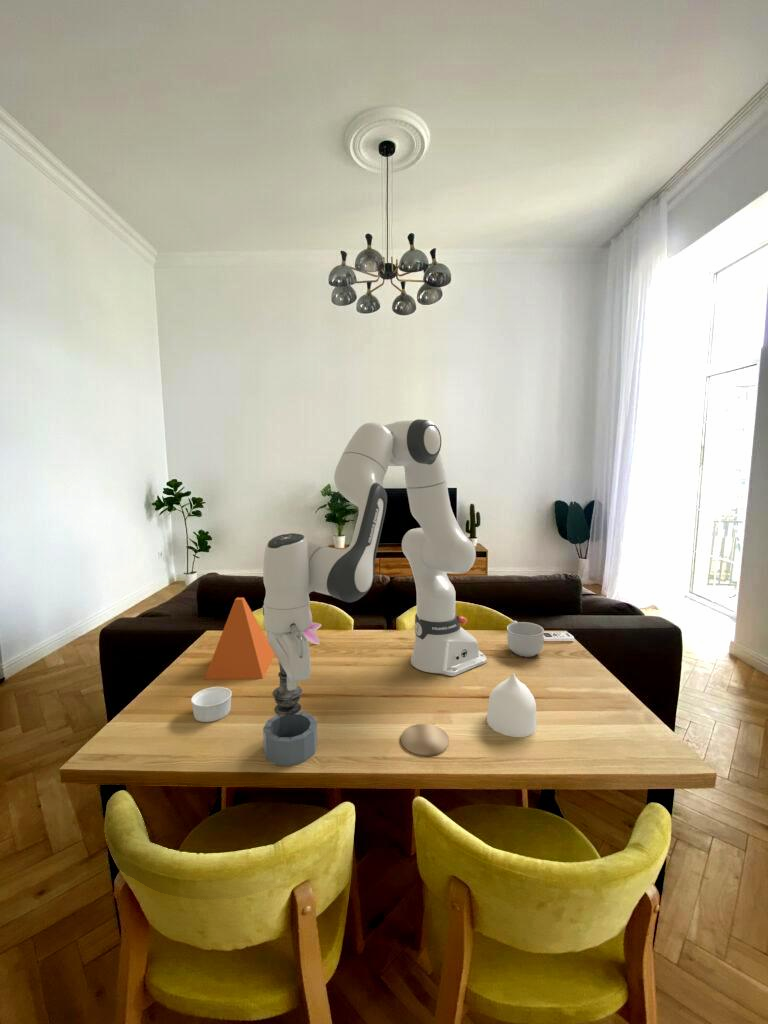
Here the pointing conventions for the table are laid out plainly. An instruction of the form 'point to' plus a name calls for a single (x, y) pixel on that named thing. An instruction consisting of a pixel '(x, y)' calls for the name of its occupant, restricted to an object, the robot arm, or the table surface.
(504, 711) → the teardrop
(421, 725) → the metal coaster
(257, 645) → the pyramid
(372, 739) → the table surface
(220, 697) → the ramekin
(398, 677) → the table surface
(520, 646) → the teacup
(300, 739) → the grey faceted cup
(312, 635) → the lily
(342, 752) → the table surface
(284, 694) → the grey chess piece
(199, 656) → the table surface
